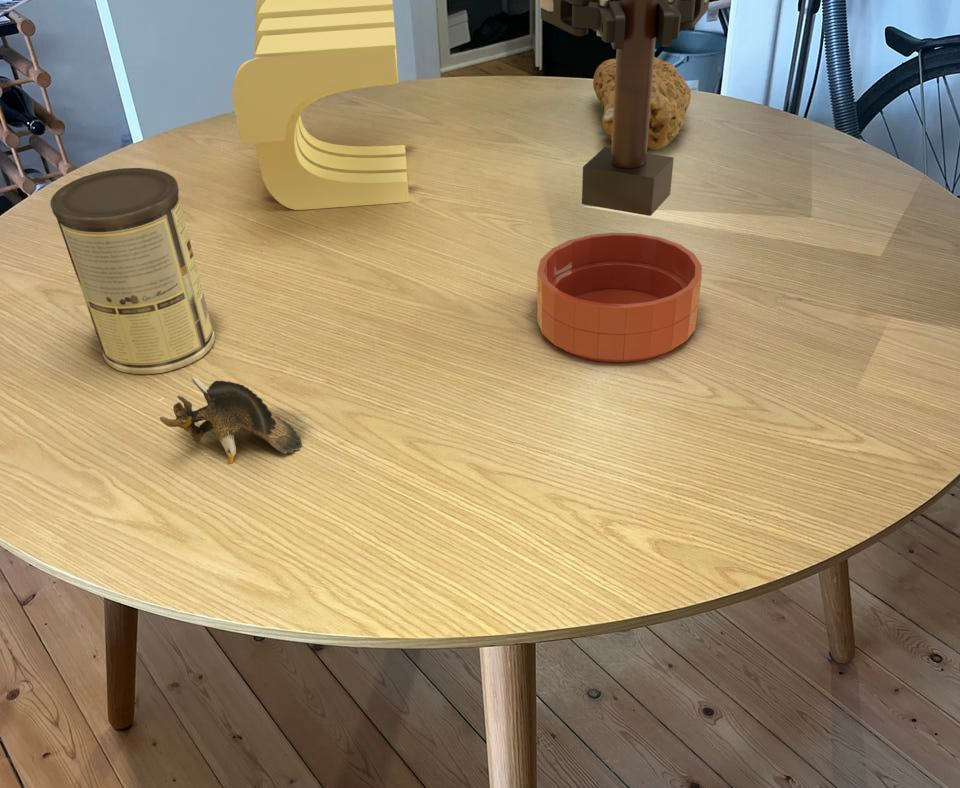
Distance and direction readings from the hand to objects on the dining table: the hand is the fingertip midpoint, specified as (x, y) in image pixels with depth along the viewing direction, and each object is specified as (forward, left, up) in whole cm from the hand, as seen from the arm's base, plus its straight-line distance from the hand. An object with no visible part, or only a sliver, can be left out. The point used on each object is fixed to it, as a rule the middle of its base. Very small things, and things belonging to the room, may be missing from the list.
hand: (644, 31), depth 72 cm
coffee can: (+39, +16, -25) cm, 49 cm away
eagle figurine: (+22, +26, -25) cm, 43 cm away
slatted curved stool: (+44, -22, -25) cm, 56 cm away
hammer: (+2, -2, -13) cm, 13 cm away
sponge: (+19, -52, -25) cm, 61 cm away
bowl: (+2, -4, -25) cm, 25 cm away
